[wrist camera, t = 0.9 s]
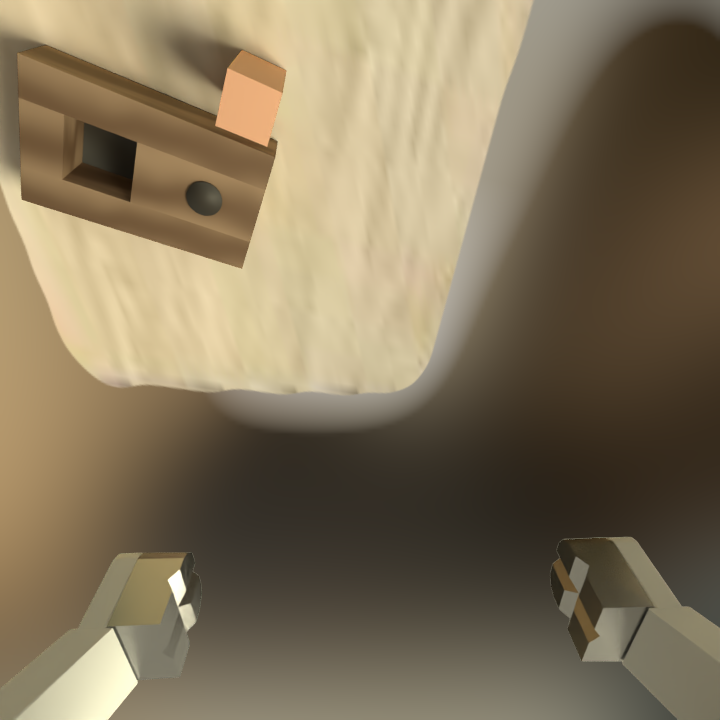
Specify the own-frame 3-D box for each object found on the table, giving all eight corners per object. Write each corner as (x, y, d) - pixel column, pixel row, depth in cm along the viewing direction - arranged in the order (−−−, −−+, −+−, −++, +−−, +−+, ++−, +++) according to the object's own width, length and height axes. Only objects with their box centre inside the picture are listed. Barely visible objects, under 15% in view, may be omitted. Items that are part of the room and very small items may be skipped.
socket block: (45, 44, 38) (15, 53, 34) (277, 141, 44) (275, 157, 40) (45, 180, 45) (20, 200, 41) (246, 246, 51) (241, 269, 47)
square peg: (242, 49, 39) (227, 67, 32) (286, 70, 41) (282, 93, 33) (231, 97, 42) (215, 125, 34) (273, 116, 43) (267, 146, 35)
